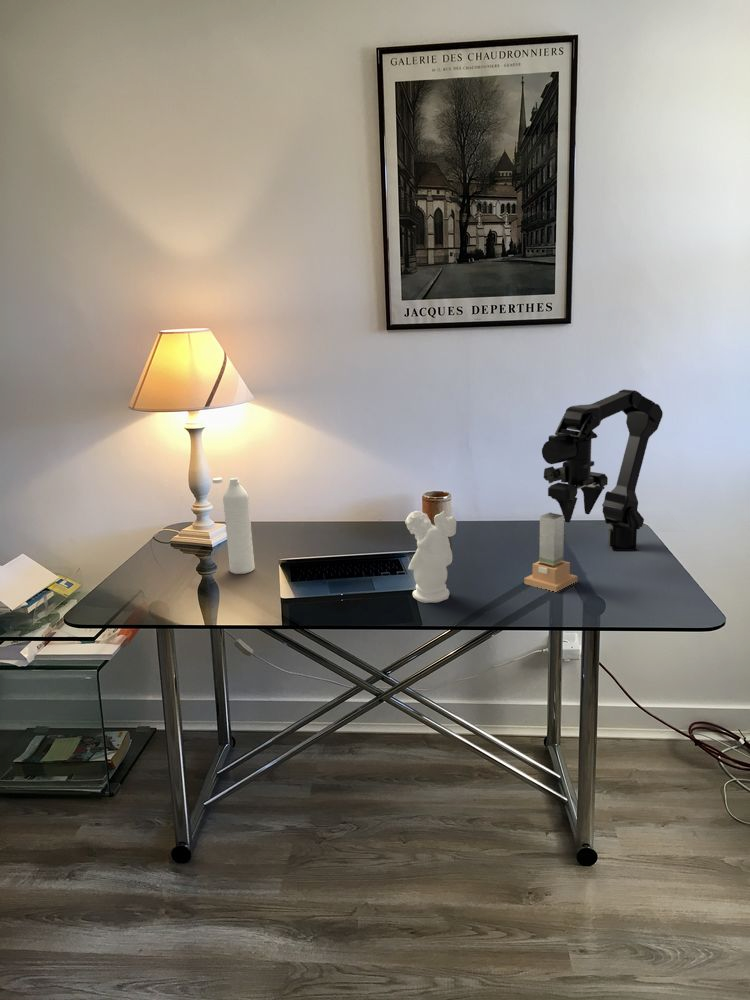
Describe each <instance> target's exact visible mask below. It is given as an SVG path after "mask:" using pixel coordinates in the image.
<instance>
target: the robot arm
mask: <svg viewBox="0 0 750 1000" xmlns="http://www.w3.org/2000/svg"><path fill="white" fill-rule="evenodd" d="M620 412H623V414H624V415H626V421H625V423H626V427H627V430H628V433H629V434H628V439H627V442H626V446H625V450H624V453H623V458H622V462H621V465H620V469H619V473H618V477H617V480H616V481H617V482H616V484H615V486H614V488H613V489H611V491H606V493H605V494H604V495H605V496H604V500H603V503H602V505H601V506H602V514H603V517H604V522H605V524H608V525H610V528H609V529H608V531H607V532H608V533H607V536H608V537H607V539H608V540H607V544H608V546H609V547H610V548H611V549H612V551H639V550H638V549H639V548H638V546H637V536H638V535H637V534H638V530H640V529H641V528H642V527H643V525H644V521H645V519H644V517H643V516H642V515H641V513H640V512H639V511H638V507H639V500H638V498H637V497H638V496H637V495H636V489H637V484H638V480H639V477H640V473H641V469H642V465H643V461H644V457H645V454H646V450H647V446H648V443H649V439H650V438H651V436H652V435H653V434H655V432H656V431H657V430H658V428H659V427H660V423H661V421H662V418H663V414H664V412H663V410H662V408H661V406H660V404H658V403H655V401H653V400H652V399H649V398H647V397H645V396H643V394H641V393H640V391H637V390H635V389H634V390H633V389H622V390H619V391H618V392H616V393H614V394H611V395H609V396H606V397H605V398H602V399H600V400H598V401H595V402H594V403H590V404H578V405H572V406H569V407H567V408H566V410H565V412H564V414H563V416H562V418H561V420H560V422H559V423H558V426H557V428H556V430H555V432H554V434H553V435H548V441H545V442H544V443H543V446H542V448H541V455H542V458H543V460H544V461H545V462H546V463H547V464H549V465H554V464H560V463H562V466H560V467H557V468H555V467H554V466H550V467H545V468H544V471H543V479H544V480H545V481H548V484H550V486H548V488H547V496H548V497H549V498H550V497H551V499H552V500H555V501H556V502H557V503H558V505H559V508H560V511H561V513H562V515H564V523H568V524H569V523H570V522H571V520H572V518H573V515H574V510H575V507H576V505H577V501H578V497H577V494H578V490H579V489H580V490H581V491H582V493H583V507H584V514H586V515H590V514H591V512H592V510H593V508H594V506H595V504H596V502H597V500H598V498H599V497H600V496H601V494H602V492H603V490H605V487H606V486H607V485H608V479H609V478H608V476H607V475H606V473H603V472H602V473H601V472H594V471H592V470H591V467H594V466H595V461H594V460H592V439H597V438H598V434H597V433H596V432H595V431H594V430H595V429H596V428H598V427H599V426H600V425H601V421H603V420H604V419H606V418H609V417H611V416H613V415H615V414H617V413H620ZM558 481H560V482H558ZM554 482H556V483H554ZM553 483H554V484H553Z"/></svg>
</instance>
